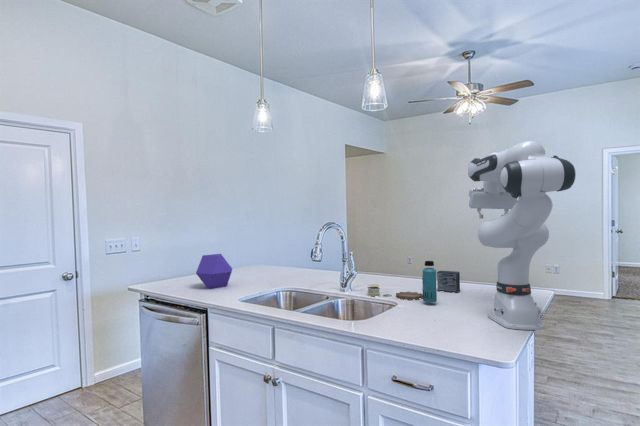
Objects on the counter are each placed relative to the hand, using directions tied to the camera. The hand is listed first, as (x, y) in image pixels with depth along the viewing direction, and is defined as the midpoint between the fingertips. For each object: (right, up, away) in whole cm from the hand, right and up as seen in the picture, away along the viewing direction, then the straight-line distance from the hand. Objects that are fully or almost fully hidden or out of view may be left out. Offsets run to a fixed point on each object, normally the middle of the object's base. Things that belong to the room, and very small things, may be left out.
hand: (492, 218), depth 176 cm
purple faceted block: (-140, -41, +50) cm, 155 cm away
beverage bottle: (-28, -40, +1) cm, 49 cm away
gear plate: (-34, -39, +16) cm, 55 cm away
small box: (-10, -39, +29) cm, 50 cm away
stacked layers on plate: (-51, -40, +22) cm, 68 cm away
